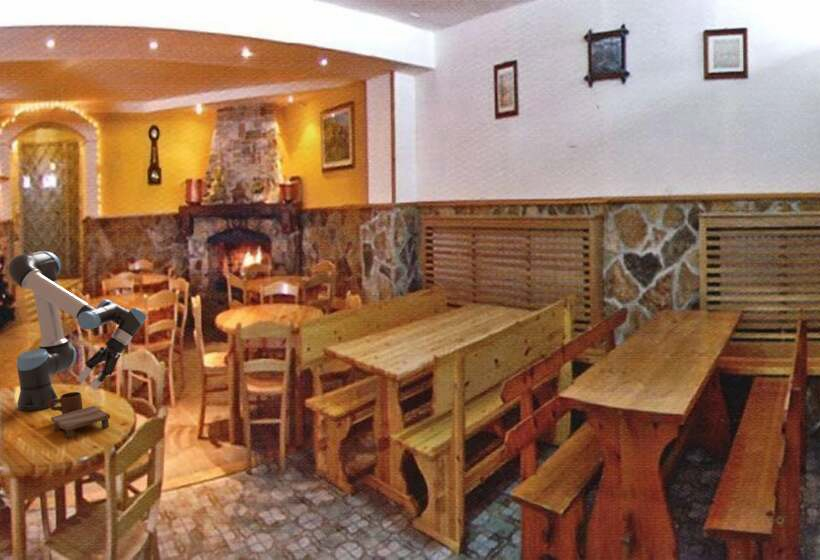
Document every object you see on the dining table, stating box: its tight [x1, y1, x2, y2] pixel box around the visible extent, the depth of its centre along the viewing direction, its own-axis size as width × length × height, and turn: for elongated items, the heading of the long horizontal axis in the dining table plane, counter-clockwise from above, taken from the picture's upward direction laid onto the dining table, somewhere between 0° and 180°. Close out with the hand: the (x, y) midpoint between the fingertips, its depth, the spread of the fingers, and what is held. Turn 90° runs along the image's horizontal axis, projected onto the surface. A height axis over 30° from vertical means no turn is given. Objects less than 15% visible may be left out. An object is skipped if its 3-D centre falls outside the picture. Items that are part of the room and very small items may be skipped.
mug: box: [48, 391, 84, 415], centre depth 263 cm, size 12×8×9 cm, turn 124°
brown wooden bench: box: [50, 405, 111, 440], centre depth 252 cm, size 15×16×5 cm
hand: (86, 384), depth 267 cm, fingers open, 13 cm apart
